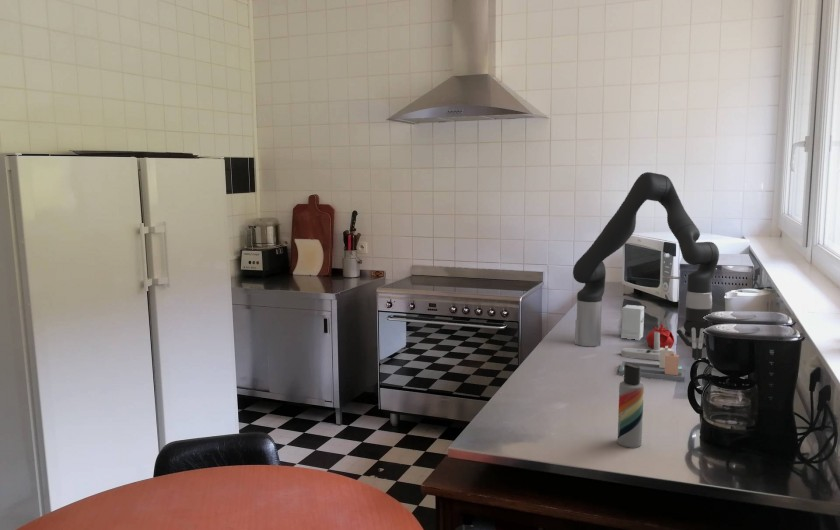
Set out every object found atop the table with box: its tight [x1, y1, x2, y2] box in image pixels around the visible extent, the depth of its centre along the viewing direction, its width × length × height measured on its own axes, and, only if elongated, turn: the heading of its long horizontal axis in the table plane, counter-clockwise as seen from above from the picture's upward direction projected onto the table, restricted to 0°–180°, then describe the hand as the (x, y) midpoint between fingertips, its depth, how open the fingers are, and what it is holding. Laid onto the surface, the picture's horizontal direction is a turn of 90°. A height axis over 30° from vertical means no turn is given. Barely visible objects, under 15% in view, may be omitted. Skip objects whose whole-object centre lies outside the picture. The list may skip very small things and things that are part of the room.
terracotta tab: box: [665, 351, 680, 375], centre depth 214 cm, size 4×3×7 cm
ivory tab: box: [658, 346, 674, 368], centre depth 221 cm, size 4×3×7 cm
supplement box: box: [620, 304, 645, 341], centre depth 266 cm, size 7×7×13 cm
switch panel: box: [618, 360, 686, 382], centre depth 220 cm, size 20×12×2 cm, turn 68°
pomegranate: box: [645, 323, 675, 350], centre depth 250 cm, size 10×10×9 cm
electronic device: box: [620, 332, 660, 361], centre depth 239 cm, size 5×10×15 cm
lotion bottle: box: [617, 364, 645, 449], centre depth 163 cm, size 6×6×20 cm
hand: (696, 359), depth 211 cm, fingers closed
